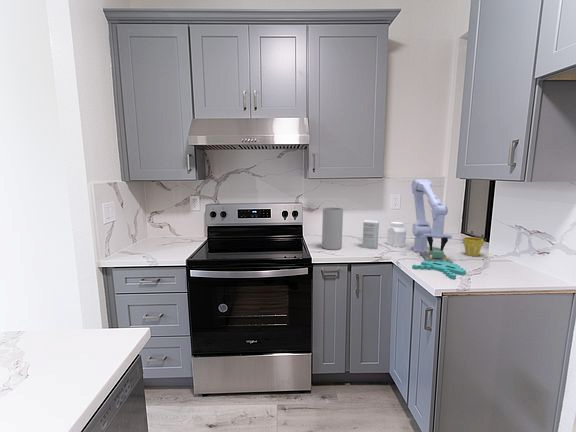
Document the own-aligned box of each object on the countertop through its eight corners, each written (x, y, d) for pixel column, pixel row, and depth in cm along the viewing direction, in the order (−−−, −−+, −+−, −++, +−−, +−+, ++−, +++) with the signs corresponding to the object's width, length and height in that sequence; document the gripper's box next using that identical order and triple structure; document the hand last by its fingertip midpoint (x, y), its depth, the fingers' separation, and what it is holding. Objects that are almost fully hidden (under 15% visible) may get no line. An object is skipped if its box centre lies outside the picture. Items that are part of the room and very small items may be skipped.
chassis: (420, 253, 182) (420, 247, 182) (443, 255, 179) (444, 249, 179) (426, 262, 165) (427, 255, 164) (452, 263, 162) (453, 257, 162)
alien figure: (453, 280, 138) (471, 271, 151) (453, 275, 138) (471, 267, 151) (412, 269, 154) (431, 262, 166) (412, 265, 154) (431, 258, 166)
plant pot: (458, 254, 181) (460, 238, 180) (465, 251, 188) (467, 236, 187) (478, 258, 174) (480, 241, 172) (484, 255, 180) (486, 238, 179)
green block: (428, 252, 178) (429, 246, 177) (438, 253, 177) (438, 247, 176) (433, 257, 167) (433, 251, 167) (443, 258, 166) (443, 252, 166)
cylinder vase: (339, 250, 187) (341, 210, 183) (319, 249, 191) (320, 209, 187) (343, 246, 199) (344, 208, 195) (324, 244, 203) (325, 207, 199)
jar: (408, 246, 200) (409, 223, 198) (397, 247, 196) (398, 224, 194) (395, 242, 210) (396, 221, 208) (384, 243, 206) (385, 221, 204)
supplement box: (363, 244, 204) (364, 219, 202) (377, 245, 201) (379, 220, 199) (362, 247, 195) (363, 221, 193) (377, 249, 192) (378, 222, 190)
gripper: (425, 227, 167) (423, 251, 169) (454, 228, 164) (452, 253, 166) (423, 225, 174) (421, 248, 176) (450, 226, 171) (448, 249, 173)
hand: (436, 250), depth 172 cm, fingers closed on green block, 5 cm apart
